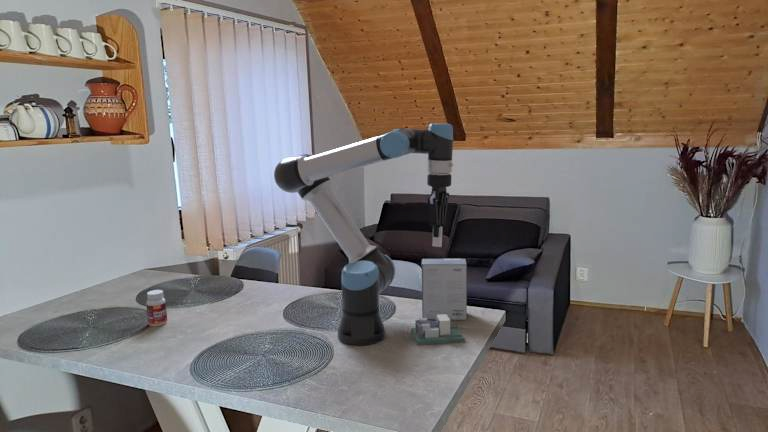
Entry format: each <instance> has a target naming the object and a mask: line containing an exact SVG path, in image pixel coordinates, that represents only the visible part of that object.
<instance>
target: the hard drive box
mask: <svg viewBox="0 0 768 432" xmlns="http://www.w3.org/2000/svg"><path fill="white" fill-rule="evenodd" d="M467 273H468V264H467V260H466V258H422V259H421V307H422V308H421V312H422V314H421V315H422V317H421V318H427V320H437V315H439V314H447V316H448V317H449V319H450V321H451V320H453V321H454V320H455V321H459V320H460V321H462V320H463V321H465V320H468V315H467V312H468V311H467V304H468V302H467V300H468V299H467V298H468V297H467V295H468V294H467V293H468V292H467V291H468V289H467V287H468V282H467V280H468V274H467Z"/></svg>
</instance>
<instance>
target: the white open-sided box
mask: <svg viewBox="0 0 768 432" xmlns="http://www.w3.org/2000/svg"><path fill="white" fill-rule="evenodd" d="M436 321H439V322H440V326H437V327H438V329H440V335H446V334H450V326H451V320H450V319H449V317H448V316H447V314H439V315H437V319H436Z"/></svg>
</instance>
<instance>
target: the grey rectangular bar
mask: <svg viewBox="0 0 768 432" xmlns="http://www.w3.org/2000/svg"><path fill="white" fill-rule="evenodd" d="M422 324H430V327H433V326H440V322H439V321H437V320H436V321H427V322H424V323H419V322H417V323H416V325H417V327H418V325H422Z"/></svg>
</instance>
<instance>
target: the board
mask: <svg viewBox="0 0 768 432" xmlns="http://www.w3.org/2000/svg"><path fill="white" fill-rule="evenodd" d="M417 322H419V323H424V322H428V319H427V318H422V317H419V319H415V321H414V323H415V324H414V325H415V327H411V333H412V336H413V338H414V341H415V343H416V345H417V346H421V345H435V344H450V343H451V344H452V343H453V344H454V343H465V336H464V335H463V334H462V332H461V330H460V329H459V327H458V326H457V325H456V324H455V325H453V324H452V325H451V324H450V334H446V335H440V329H438V327H437V326H433V327H430V324H422V325H418V327H417V325H416V323H417Z"/></svg>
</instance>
